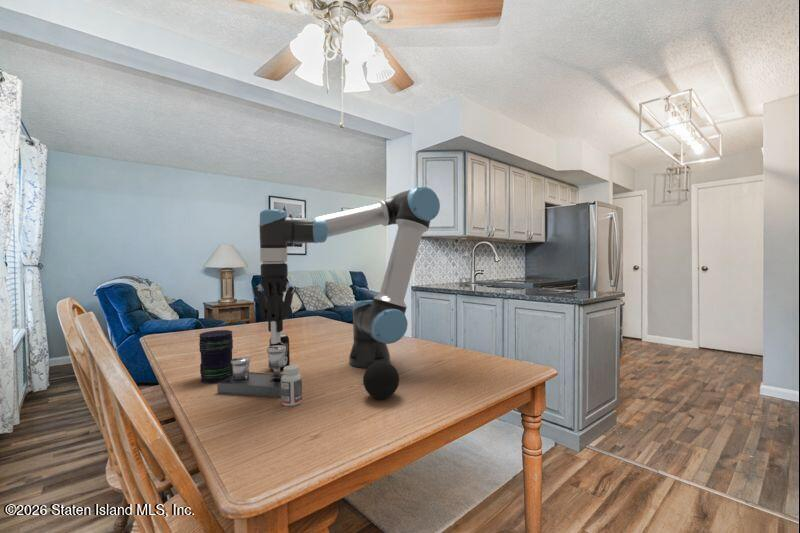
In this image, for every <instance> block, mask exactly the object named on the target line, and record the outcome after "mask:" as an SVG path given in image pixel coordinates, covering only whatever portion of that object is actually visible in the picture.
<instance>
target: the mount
mask: <svg viewBox="0 0 800 533" xmlns="http://www.w3.org/2000/svg"><path fill="white" fill-rule="evenodd" d="M283 375H284V373H280V376H279V377H274V372H261V371H260V372H259V371H258V372H257V371H249V377H248V378H245V379H243V380H241V379H233V375H232V376H230V377H228V378H226V379H224V380H222V381H220V382H218V383H216V385H217V386H216V388H217V394H222V395H224V394H225V395H237V396H249V397H250V396H252V397H261V398H264V397H265V398H276V399H280V398H282V395H281V377H282V376H283Z"/></svg>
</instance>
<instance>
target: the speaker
mask: <svg viewBox="0 0 800 533" xmlns="http://www.w3.org/2000/svg"><path fill="white" fill-rule="evenodd" d="M362 383H363V387H364V389H365V391H366V392H367V394H368V395H370V397H372V398H375V399H381V400H382V399H387V398H389V397H391V396H393V394H394V393H395V392H396V391H397V389H398V387H399V383H400V376H399V373H398V370H397V368H396V367H395V366H394V364H392V363H391V362H390V363H388V362H385V361H378V362H375V363H373V364H371V365H370V366H369V367H368V368H365V371H364V374H363V378H362Z"/></svg>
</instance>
